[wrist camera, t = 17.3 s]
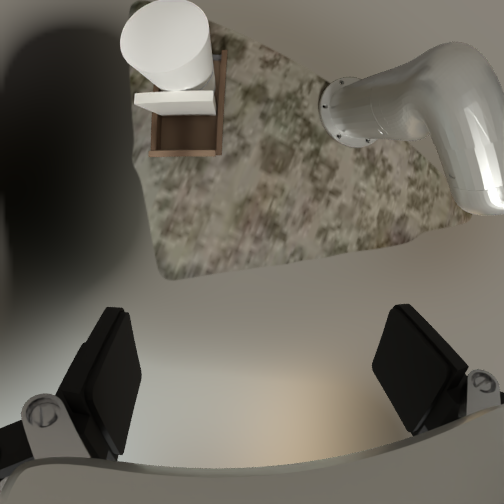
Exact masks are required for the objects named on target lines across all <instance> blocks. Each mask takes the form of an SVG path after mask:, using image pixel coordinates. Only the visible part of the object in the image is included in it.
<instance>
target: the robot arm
mask: <svg viewBox="0 0 504 504" xmlns="http://www.w3.org/2000/svg"><path fill="white" fill-rule="evenodd" d="M339 82H340V83H341V84H340V83H339ZM323 105H324V106H325V108H323ZM319 115H320V118H321V122H322V124H323V126H324V128H325V129H326V131H327V132H328V134H329V135H330V136H331V137H332V138H333V139H335V140H336V141H337V142H339V143H341V144H343V145H346V146H350V147H364V146H368V145H370V144H372V143H374V142H375V141H376V140H377V139H387V140H404V141H416V140H421V139H423V138H425V137H427V136H429V135H431V138H432V140H433V143H434V145H435V146H436V149H437V152H438V155H439V158H440V161H441V164H442V166H443V170H444V173H445V176H446V179H447V182H448V185H449V188H450V191H451V193H452V196H453V198H454V200H455V201H456V203H457V204H458V206H460V207H461V208H462V209H463V210H465V211H467V212H469V213H472V214H476V215H501V214H504V93H503V90H502V87H501V84H500V82H499V80H498V78H497V76H496V74H495V72H494V70H493V68H492V66H491V65H490V63H489V62H488V60H487V59H486V58H485V57H484V56H483V54H482V53H480V52H479V51H478V50H477V49H476V48H474V47H473V46H471V45H469V44H466V43H462V42H449V43H444V44H440V45H438V46H436V47H433V48H431V49H429V50H428V51H426V52H424V53H423V54H421V55H420V56H418V57H417V58H415V59H413V60H412V61H410V62H408V63H405V64H403V65H400V66H398V67H395V68H393V69H390V70H387V71H384V72H381V73H378V74H375V75H373V76H370V77H367V78H365V79H359V78H355V77H343V78H340V79H337V80H335V81H333V82H332V83H330V84H329V85H328V86H327V87H326V88H325V89H324V91H323V93H322V95H321V98H320V102H319ZM337 135H338V138H337ZM366 140H367V142H366ZM372 369H373V372H374V374H375V375H376V377H377V379H378V381H379V382H380V384H381V386H382V387H383V389H384V391H385V393H386V394H387V396H388V398H389V399H390V401H391V403H392V405H393V406H394V408H395V410H396V412H397V413H398V415H399V417H400V419H401V421H402V422H403V424H404V426H405V428H406V429H407V431H408V432H411V433H412V435H413V437H410V438H407V439H404V440H401V441H398V442H394V443H391V444H387V445H384V446H380V447H377V448H373V449H369V450H365V451H361V452H357V453H352V454H348V455H344V456H338V457H333V458H328V459H322V460H316V461H310V462H304V463H296V464H287V465H278V466H267V467H252V468H224V469H210V468H209V469H207V468H204V469H203V468H181V467H165V466H153V465H143V464H135V463H128V462H119V461H117V459H118V455H123V453H124V449H125V445H126V440H127V435H128V431H129V427H130V422H131V418H132V414H133V410H134V405H135V402H136V398H137V394H138V390H139V386H140V382H141V375H142V374H141V368H140V364H139V359H138V355H137V350H136V346H135V341H134V336H133V331H132V326H131V320H130V315H129V313H128V312H124V309H123V308H116V307H107V308H106V309H105V310H104V312H103V314H102V315H101V317H100V319H99V321H98V322H97V324H96V326H95V327H94V329H93V331H92V332H91V334H90V336H89V338H88V340H87V341H86V342H85V343H83V344H82V345H81V347H80V349H79V351H78V352H77V355H76V356H75V358H74V360H73V362H72V363H71V365H70V367H69V369H68V371H67V373H66V375H65V377H64V379H63V381H62V383H61V385H60V387H59V389H58V391H57V393H56V395H52V394H39V395H35V396H33V397H31V398H30V399H29V400H28V401H27V402H26V403H25V404H24V406H23V408H22V412H21V417H22V420H20V421H17V422H15V423H12V424H10V425H7V426H5V427H3V428H0V504H504V393H503V392H500V388H499V384H498V381H497V380H496V378H495V377H494V376H493V375H492V374H490V373H489V372H487V371H484V370H479V369H477V370H473V371H471V372H470V373H469V374H468V376H466V374H465V372H466V371H467V369H468V365H467V364H466V363H465V362H464V361H463V360H462V358H461V357H460V356H459V355H458V354H457V353H456V352H455V351H454V350H453V349H452V347H451V346H450V345H449V344H448V343H447V342H446V341H445V340H444V339H443V338H442V337H441V336H440V335H439V334H438V332H437V331H436V330H435V329H434V328H433V327H432V326H431V325H430V324H429V323H428V322H427V321H426V320H425V319H424V318H423V317H422V316H421V315H420V314H419V313H418V312H417V311H416V310H415V309H414V308H413V307H412V306H411V305H410V304H399V305H395V306H394V307H393V309H391V310H390V312H389V315H388V318H387V322H386V324H385V328H384V331H383V334H382V337H381V340H380V343H379V346H378V349H377V352H376V354H375V357H374V360H373V363H372Z"/></svg>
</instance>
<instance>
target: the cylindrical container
mask: <svg viewBox="0 0 504 504" xmlns="http://www.w3.org/2000/svg"><path fill="white" fill-rule="evenodd" d="M120 46H121V52H122V54H123V56H124V58H125V59H126V61H127V62H128V63H129V64H130V65H131V66H133V67H134V68H135V69H136V70H138V71H139V72H140V73H141V74H143V75H144V76H145V77H146V78H147V79H149V80H150V81H151V82H152V83H153V84H155V85H156V86H157V87H158V88H159V89H161V90H162V91H163V92H166V91H214V93H215V89H216V83H215V75H214V66H213V58H212V49H211V40H210V31H209V24H208V19H207V17H206V15H205V13H204V12H203V11H202V10H201V9H200V8H199V7H198V6H197V5H195V4H194V3H192V2H190V1H187V0H158V1H154V2H152V3H150V4H147V5H145V6H144V7H142V8H141V9H139V10H138V11H137V12H136V13H135V14H133V15H132V16H131V18H130V19H129V20H128V21H127V23H126V25H125V27H124V29H123V31H122V34H121V39H120Z"/></svg>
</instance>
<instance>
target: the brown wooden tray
mask: <svg viewBox="0 0 504 504" xmlns="http://www.w3.org/2000/svg"><path fill="white" fill-rule="evenodd" d="M212 58H213V66H214V75H215V83H216V89H215V93H214V96H215V102H216V107H217V112H216V116H161V115H159V114H156V113H154V112H152V124H151V151H149V157H170V156H216V155H222V134H223V114H224V96H225V80H226V64H227V50H222V55H212ZM153 92H163V91H162V90H161V89H159V88H158V87H157V86H156V85H155V84H154V88H153Z"/></svg>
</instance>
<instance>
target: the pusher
mask: <svg viewBox="0 0 504 504" xmlns="http://www.w3.org/2000/svg"><path fill="white" fill-rule="evenodd" d="M134 104H135V105H137V106H140V107H142V108H145V109H147V110H149V111H152V112H154V113H156V114H159V115H161V116H216V112H217V107H216V102H215V96H214V91H166V92H150V93H137V94H135V99H134Z"/></svg>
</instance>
